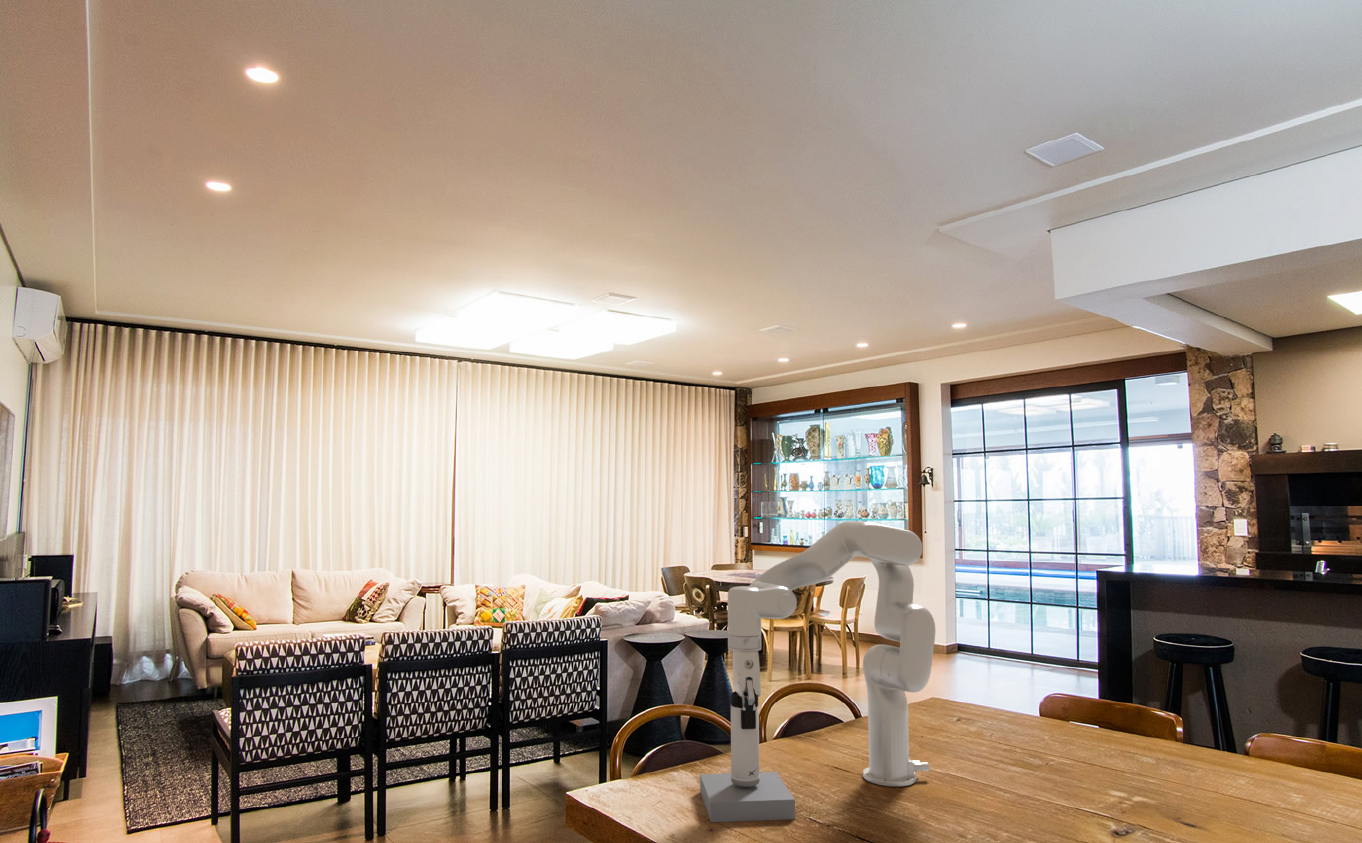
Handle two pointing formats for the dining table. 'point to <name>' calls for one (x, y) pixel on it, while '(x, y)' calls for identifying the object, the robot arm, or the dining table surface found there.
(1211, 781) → the dining table surface
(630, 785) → the dining table surface
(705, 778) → the plinth
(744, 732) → the travel mug
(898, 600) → the robot arm
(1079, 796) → the dining table surface
